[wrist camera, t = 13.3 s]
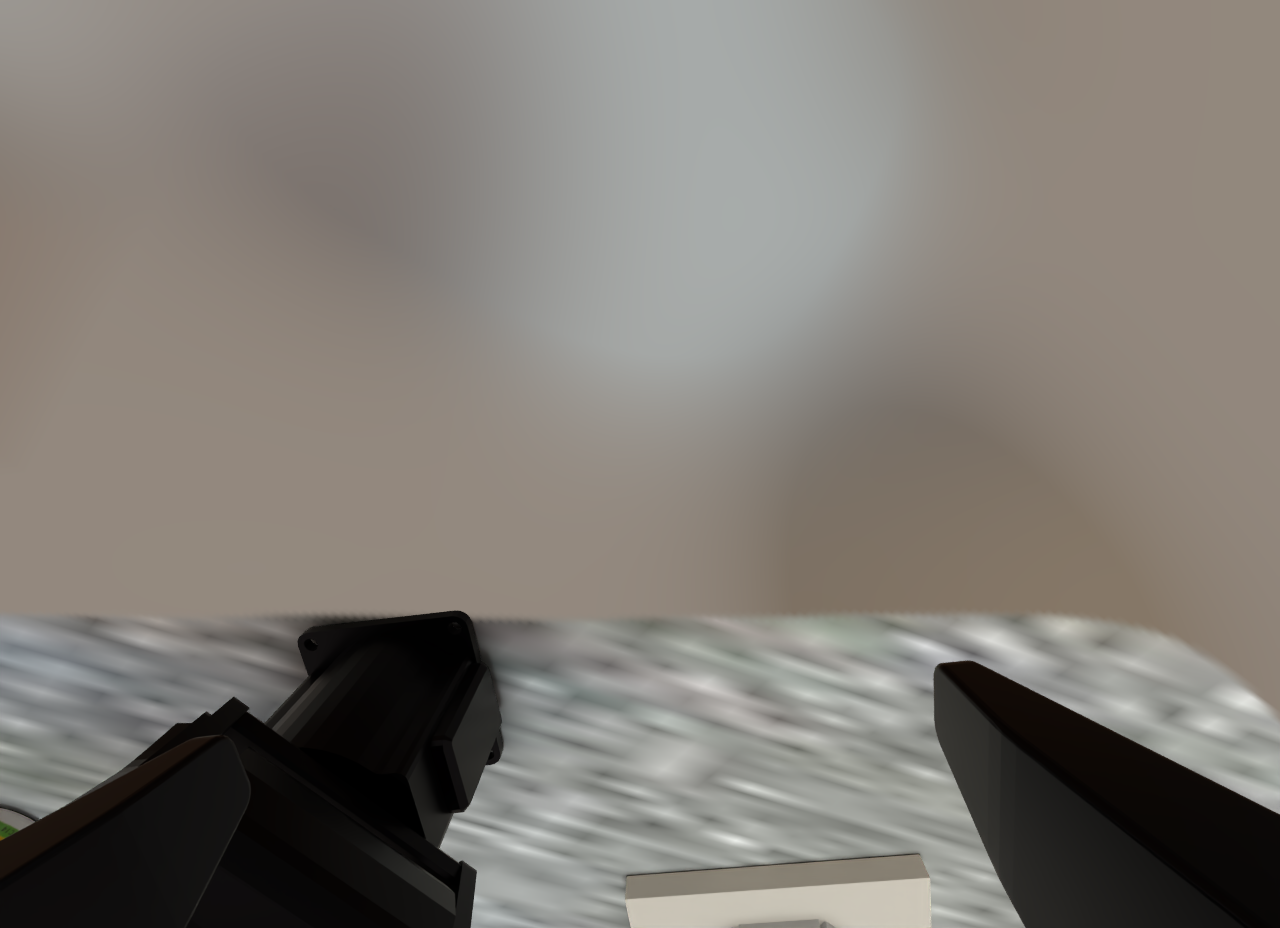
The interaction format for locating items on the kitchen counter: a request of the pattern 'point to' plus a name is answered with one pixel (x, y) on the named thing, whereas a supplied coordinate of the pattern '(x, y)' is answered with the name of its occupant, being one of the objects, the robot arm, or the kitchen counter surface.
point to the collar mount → (786, 896)
